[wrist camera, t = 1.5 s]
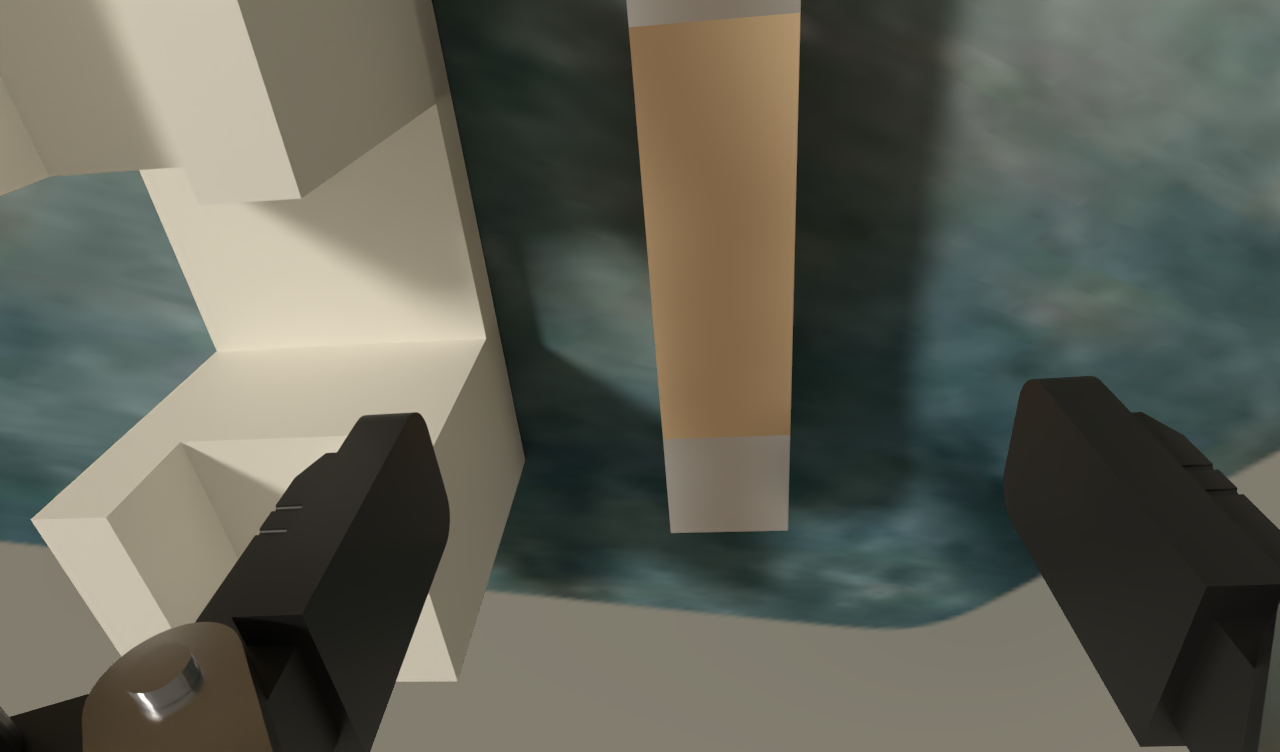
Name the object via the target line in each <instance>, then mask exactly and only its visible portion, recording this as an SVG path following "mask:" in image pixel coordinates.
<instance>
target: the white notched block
mask: <svg viewBox="0 0 1280 752" xmlns="http://www.w3.org/2000/svg"><path fill="white" fill-rule="evenodd" d="M134 170H139V171H140V173H141V175H142V178H143V180H144V182H145V185H146V187H147V189H148V192H149V194H150V196H151V199H152V201H153V203H154V206H155V208H156V210H157V213H158V215H159V217H160V220H161V222H162V224H163V227H164V229H165V231H166V234H167V236H168V238H169V241H170V243H171V245H172V248H173V250H174V252H175V255H176V257H177V259H178V262H179V264H180V266H181V269H182V271H183V273H184V276H185V278H186V280H187V283H188V285H189V287H190V290H191V292H192V294H193V297H194V299H195V301H196V304H197V306H198V308H199V311H200V313H201V315H202V318H203V320H204V322H205V325H206V327H207V329H208V332H209V334H210V336H211V339H212V341H213V343H214V346H215V348H216V350H217V352H216V353H215V354H213V355H212V356H211V357H210V358H209V359H208V360H207V361H206V362H205V363H203V364H202V365H201V366H200V367H199V368H198V369H197V370H196V371H195V372H194V373H192V374H191V375H190V376H189V377H188V378H187V379H186V380H185V381H184V382H182V383H181V384H180V385H179V386H178V387H177V388H176V389H175V390H174V391H173V392H171V393H170V394H169V395H168V396H167V397H166V398H165V399H164V400H163V401H161V402H160V403H159V404H158V405H157V406H156V407H155V408H154V409H153V410H151V411H150V412H149V413H148V414H147V415H146V416H145V417H144V418H143V419H142V420H140V421H139V422H138V423H137V424H136V425H135V426H134V427H133V428H132V429H130V430H129V431H128V432H127V433H126V434H125V435H124V436H123V437H122V438H121V439H119V440H118V441H117V442H116V443H115V444H114V445H113V446H112V447H111V448H109V449H108V450H107V451H106V452H105V453H104V454H103V455H102V456H101V457H99V458H98V459H97V460H96V461H95V462H94V463H93V464H92V465H91V466H90V467H88V468H87V469H86V470H85V471H84V472H83V473H82V474H81V475H80V476H78V477H77V478H76V479H75V480H74V481H73V482H72V483H71V484H70V485H69V486H67V487H66V488H65V489H64V490H63V491H62V492H61V493H60V494H59V495H57V496H56V497H55V498H54V499H53V500H52V501H51V502H50V503H49V504H47V505H46V506H45V507H44V508H43V509H42V510H41V511H40V512H39V513H38V514H36V515H35V516H34V517H33V518H32V519H31V521H32V522H33V524H34V525H35V527H36V528H37V530H38V531H39V533H40V534H41V536H42V537H43V539H44V540H45V542H46V543H47V545H48V546H49V548H50V549H51V551H52V552H53V554H54V555H55V557H56V558H57V560H58V561H59V563H60V564H61V566H62V568H63V569H64V570H65V572H66V574H67V575H68V577H69V578H70V580H71V581H72V582H73V584H74V586H75V587H76V588H77V590H78V592H79V593H80V595H81V596H82V597H83V599H84V601H85V602H86V604H87V605H88V607H89V608H90V610H91V611H92V613H93V614H94V616H95V617H96V619H97V620H98V622H99V623H100V625H101V626H102V628H103V629H104V631H105V632H106V634H107V635H108V637H109V638H110V640H111V641H112V643H113V644H114V646H115V647H116V649H117V650H118V652H119V653H120V655H121V656H123V655H124V654H126V653H127V652H128V651H130V650H131V649H132V648H134V647H136V646H137V645H139V644H140V643H142V642H144V641H145V640H147V639H149V638H151V637H153V636H155V635H157V634H159V633H161V632H164V631H166V630H169V629H171V628H175V627H178V626H181V625H185V624H190V623H195V621H196V620H197V619H198V617H199V616H200V614H201V613H202V611H203V610H204V608H205V607H206V606H207V604H208V603H209V601H210V600H211V598H212V597H213V595H214V594H215V592H216V591H217V590H218V588H219V587H220V585H221V584H222V582H223V581H224V579H225V578H226V577H227V575H228V574H229V572H230V571H231V569H232V568H233V566H234V565H235V564H236V562H237V561H238V559H239V558H240V556H241V555H242V553H243V552H244V550H245V549H246V548H247V546H248V545H249V543H250V542H251V540H252V539H253V537H254V536H255V535H259V534H260V530H259V529H260V527H261V526H262V524H263V523H264V521H265V520H266V519H267V517H268V516H269V514H270V513H271V511H275V510H276V504H277V503H278V501H279V500H280V498H281V497H282V495H283V494H284V493H285V491H286V490H287V488H288V487H289V485H290V484H291V482H292V481H293V479H294V478H295V477H296V476H298V475H299V474H300V473H301V472H303V471H304V470H305V469H306V468H308V467H309V466H310V465H311V464H313V463H314V462H315V461H316V460H318V459H319V458H320V457H322V456H323V455H324V454H325V453H337V452H338V450H339V448H340V447H341V445H342V444H343V442H344V441H345V439H346V438H347V436H348V434H349V433H350V431H351V430H352V428H353V427H354V425H355V424H356V422H357V421H358V419H359V418H360V417H362V416H364V415H376V414H393V413H411V412H417V413H419V414H421V415H422V417H423V418H424V420H425V422H426V424H427V427H428V430H429V434H430V437H431V441H432V444H433V448H434V451H435V455H436V458H437V462H438V465H439V469H440V472H441V476H442V479H443V483H444V487H445V490H446V494H447V497H448V502H449V509H450V528H449V536H448V540H447V544H446V547H445V549H444V552H443V555H442V558H441V560H440V563H439V566H438V568H437V571H436V574H435V577H434V579H433V582H432V585H431V587H430V590H429V593H428V596H427V598H426V601H425V604H424V606H423V609H422V612H421V615H420V617H419V620H418V623H417V625H416V628H415V631H414V634H413V636H412V639H411V642H410V644H409V647H408V650H407V653H406V655H405V658H404V661H403V663H402V666H401V669H400V672H399V674H398V677H397V680H396V682H399V681H400V682H403V681H404V682H406V681H458V678H459V675H460V672H461V668H462V665H463V662H464V658H465V655H466V652H467V649H468V646H469V642H470V639H471V636H472V632H473V629H474V626H475V623H476V619H477V616H478V613H479V610H480V606H481V603H482V600H483V597H484V593H485V590H486V587H487V584H488V580H489V577H490V574H491V571H492V567H493V564H494V561H495V558H496V554H497V551H498V548H499V545H500V541H501V538H502V535H503V532H504V528H505V525H506V522H507V518H508V515H509V512H510V509H511V505H512V502H513V499H514V496H515V492H516V489H517V486H518V483H519V479H520V476H521V473H522V470H523V466H524V463H525V457H524V452H523V447H522V442H521V437H520V432H519V427H518V422H517V417H516V412H515V408H514V403H513V398H512V393H511V388H510V383H509V378H508V373H507V368H506V363H505V358H504V353H503V349H502V344H501V339H500V334H499V329H498V324H497V319H496V314H495V309H494V304H493V299H492V294H491V290H490V285H489V280H488V275H487V270H486V265H485V260H484V255H483V250H482V245H481V240H480V236H479V231H478V226H477V221H476V216H475V211H474V206H473V201H472V196H471V191H470V186H469V181H468V177H467V172H466V167H465V162H464V157H463V152H462V147H461V142H460V137H459V132H458V127H457V123H456V118H455V113H454V108H453V103H452V98H451V93H450V88H449V83H448V78H447V73H446V68H445V64H444V59H443V54H442V49H441V44H440V39H439V34H438V29H437V24H436V19H435V14H434V10H433V5H432V0H0V196H2V195H4V194H7V193H9V192H12V191H14V190H17V189H19V188H22V187H25V186H27V185H30V184H32V183H35V182H37V181H40V180H42V179H45V178H47V177H51V176H64V175H78V174H92V173H106V172H120V171H134Z"/></svg>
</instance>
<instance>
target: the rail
mask: <svg viewBox="0 0 1280 752" xmlns="http://www.w3.org/2000/svg"><path fill="white" fill-rule="evenodd" d="M626 1H627V13H628V25H629V37H630V49H631V61H632V73H633V85H634V97H635V109H636V121H637V133H638V145H639V157H640V169H641V181H642V193H643V205H644V217H645V229H646V241H647V253H648V265H649V277H650V289H651V301H652V313H653V325H654V337H655V349H656V361H657V373H658V385H659V397H660V409H661V421H662V433H663V445H664V457H665V469H666V481H667V493H668V505H669V517H670V529H671V533H696V532H743V531H788V507H789V465H790V424H791V383H792V342H793V301H794V260H795V218H796V177H797V136H798V95H799V54H800V12H801V0H626Z"/></svg>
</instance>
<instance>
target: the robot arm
mask: <svg viewBox="0 0 1280 752" xmlns="http://www.w3.org/2000/svg"><path fill="white" fill-rule="evenodd" d="M1003 490H1004V499H1005V504H1006V508H1007V512H1008V515H1009V517H1010V520H1011V522H1012V524H1013V525H1014V527H1015V529H1016V531H1017V532H1018V534H1019V536H1020V538H1021V539H1022V541H1023V543H1024V545H1025V546H1026V548H1027V550H1028V552H1029V553H1030V555H1031V557H1032V559H1033V560H1034V562H1035V564H1036V566H1037V567H1038V569H1039V571H1040V572H1041V574H1042V576H1043V578H1044V579H1045V581H1046V583H1047V585H1048V586H1049V588H1050V590H1051V591H1052V593H1053V595H1054V597H1055V599H1056V600H1057V602H1058V604H1059V606H1060V607H1061V609H1062V611H1063V612H1064V614H1065V616H1066V618H1067V619H1068V621H1069V623H1070V625H1071V627H1072V628H1073V630H1074V632H1075V634H1076V635H1077V637H1078V639H1079V640H1080V642H1081V644H1082V646H1083V648H1084V649H1085V651H1086V653H1087V654H1088V656H1089V658H1090V660H1091V661H1092V663H1093V665H1094V667H1095V668H1096V670H1097V672H1098V674H1099V675H1100V677H1101V679H1102V681H1103V682H1104V684H1105V686H1106V688H1107V689H1108V691H1109V693H1110V694H1111V696H1112V698H1113V700H1114V702H1115V703H1116V705H1117V707H1118V709H1119V710H1120V712H1121V714H1122V715H1123V717H1124V719H1125V721H1126V722H1127V724H1128V726H1129V728H1130V729H1131V731H1132V733H1133V735H1134V736H1135V738H1136V740H1137V742H1138V743H1139V745H1140V747H1147V746H1148V747H1149V746H1187V748H1188V749H1189V751H1190V752H1280V530H1279V529H1278V528H1277V527H1276V526H1275V525H1274V524H1273V523H1272V522H1271V521H1270V520H1269V519H1268V518H1267V517H1266V516H1265V515H1264V514H1263V513H1262V512H1261V511H1260V510H1259V509H1258V508H1257V507H1256V506H1255V505H1254V504H1253V503H1252V502H1251V501H1250V500H1249V499H1248V498H1247V497H1246V496H1245V495H1243V494H1242V495H1238V493H1237V488H1236V486H1235V485H1234V484H1233V483H1232V482H1230V481H1229V480H1228V479H1227V478H1226V477H1225V476H1224V475H1223V474H1222V473H1221V472H1220V471H1219V470H1213V464H1212V463H1211V462H1210V461H1209V460H1208V459H1207V458H1206V457H1205V456H1204V455H1203V454H1202V453H1201V452H1200V451H1199V450H1198V449H1197V448H1196V447H1195V446H1194V445H1193V444H1192V443H1191V442H1190V441H1189V440H1188V439H1187V438H1186V437H1185V436H1184V435H1182V434H1180V433H1179V432H1177V431H1175V430H1173V429H1171V428H1170V427H1168V426H1166V425H1164V424H1162V423H1160V422H1159V421H1157V420H1155V419H1153V418H1151V417H1150V416H1148V415H1146V414H1144V413H1142V412H1136V413H1131V412H1130V411H1129V410H1128V409H1127V408H1126V407H1125V406H1124V405H1123V404H1122V403H1121V401H1120V400H1119V399H1118V398H1117V397H1116V396H1115V395H1114V394H1113V393H1112V392H1111V391H1110V390H1109V389H1108V388H1107V387H1106V386H1105V385H1104V384H1103V383H1102V382H1101V381H1100V380H1099V379H1098V378H1096V377H1093V376H1081V377H1063V378H1045V379H1031V380H1028V381H1027V382H1026V383H1025V384H1024V386H1023V387H1022V390H1021V392H1020V396H1019V401H1018V406H1017V411H1016V416H1015V421H1014V426H1013V431H1012V436H1011V441H1010V446H1009V451H1008V456H1007V461H1006V466H1005V471H1004V478H1003ZM449 528H450V509H449V502H448V497H447V494H446V490H445V487H444V483H443V479H442V476H441V472H440V469H439V465H438V462H437V458H436V455H435V451H434V448H433V444H432V441H431V437H430V434H429V430H428V427H427V424H426V422H425V420H424V418H423V417H422V415H421V414H419V413H417V412H411V413H393V414H376V415H364V416H362V417H360V418H359V419H358V421H357V422H356V424H355V425H354V427H353V428H352V430H351V431H350V433H349V434H348V436H347V438H346V439H345V441H344V442H343V444H342V445H341V447H340V448H339V450H338V452H337V453H325V454H324V455H323V456H322V457H320V458H319V459H318V460H316V461H315V462H314V463H313V464H311V465H310V466H309V467H308V468H306V469H305V470H304V471H303V472H301V473H300V474H299V475H298V476H296V477H295V478H294V479H293V481H292V482H291V484H290V485H289V487H288V488H287V490H286V491H285V493H284V494H283V495H282V497H281V498H280V500H279V501H278V503H277V504H276V510H275V511H271V513H270V514H269V516H268V517H267V519H266V520H265V521H264V523H263V524H262V526H261V527H260V529H259V530H260V534H259V535H255V536H254V537H253V539H252V540H251V542H250V543H249V545H248V546H247V548H246V549H245V550H244V552H243V553H242V555H241V556H240V558H239V559H238V561H237V562H236V564H235V565H234V566H233V568H232V569H231V571H230V572H229V574H228V575H227V577H226V578H225V579H224V581H223V582H222V584H221V585H220V587H219V588H218V590H217V591H216V592H215V594H214V595H213V597H212V598H211V600H210V601H209V603H208V604H207V606H206V607H205V608H204V610H203V611H202V613H201V614H200V616H199V617H198V619H197V620H196V621H195V623H190V624H185V625H181V626H178V627H175V628H171V629H169V630H166V631H164V632H161V633H159V634H157V635H155V636H153V637H151V638H149V639H147V640H145V641H144V642H142V643H140V644H139V645H137V646H136V647H134V648H132V649H131V650H130V651H128V652H127V653H126V654H124V655H123V656H122V657H120V658H119V659H118V660H117V661H116V662H115V663H114V664H113V665H112V666H110V668H108V670H107V671H106V672H105V673H104V674H103V675H102V676H101V677H100V678H99V680H98V681H97V683H96V684H95V685H94V687H93V688H92V690H91V692H90V694H87V695H83V696H80V697H77V698H73V699H70V700H66V701H63V702H60V703H56V704H53V705H49V706H46V707H42V708H39V709H36V710H32V711H29V712H26V713H22V714H18V715H15V716H11V717H9V716H8V715H7V714H6V713H5V712H4V710H3V709H2V708H1V707H0V752H370V750H371V747H372V745H373V742H374V739H375V737H376V734H377V731H378V729H379V726H380V723H381V720H382V718H383V715H384V712H385V710H386V707H387V704H388V701H389V698H390V696H391V693H392V690H393V688H394V685H395V682H396V680H397V677H398V674H399V672H400V669H401V666H402V663H403V661H404V658H405V655H406V653H407V650H408V647H409V644H410V642H411V639H412V636H413V634H414V631H415V628H416V625H417V623H418V620H419V617H420V615H421V612H422V609H423V606H424V604H425V601H426V598H427V596H428V593H429V590H430V587H431V585H432V582H433V579H434V577H435V574H436V571H437V568H438V566H439V563H440V560H441V558H442V555H443V552H444V549H445V547H446V544H447V540H448V536H449Z"/></svg>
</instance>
